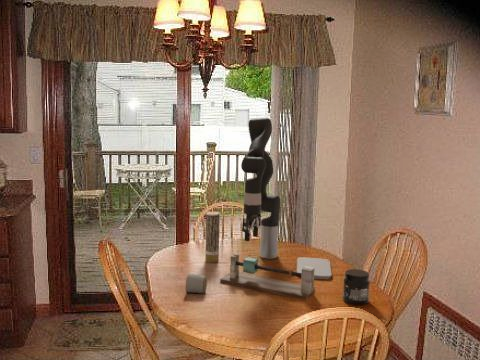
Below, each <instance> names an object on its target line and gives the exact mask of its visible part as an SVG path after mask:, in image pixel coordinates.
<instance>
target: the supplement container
mask: <svg viewBox="0 0 480 360" xmlns="http://www.w3.org/2000/svg"><path fill="white" fill-rule="evenodd" d="M344 276H345V277H344V278H343V279H342V280H343V284H342V285H343V286H342V288H343V289H342V300H343V301H344V302H345V303H347V304H350V305H354V306H363V305H366V304H368V303H369V301H370V297H369V296H370V285H371V282H370V280H369V279H370V273H369V272H368V271H366V270H364V269H358V268H351V269H350V268H349V269H346V270H345V271H344Z"/></svg>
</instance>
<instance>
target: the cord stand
mask: <svg viewBox="0 0 480 360" xmlns="http://www.w3.org/2000/svg"><path fill="white" fill-rule="evenodd" d="M240 267H243V262H242V261H240V254H238V253H234V254H233V255H230V265H229V273H228V274H226V275H224V276H223V277H221V278H220V279H219V282H220V283H223V284H226V285H231V286H237V287H240V288H245V289H251V290H254V291H255V290H256V291H259V292H264V293H269V294H274V295H279V296H282V297H283V296H284V297H288V298H293V299H298V300H303V301H307V300H308V298H310V296H311V295H312V294H313V293H314V292H315V291H316V287H314V285H315V279H314V270H315V268H314V267H309V266H305V267H304V268H303V269H302V273H297V271H294V269H289V270H287V269H280V268H274V267H269V266H265V265H263V266H262V265H259V264H258V265H255V269H258V270H261V271H266V272H271V273H277V274H283V275H287V276H288V277H289V278H292V277H293V276H294V277H299V278H300V284H299V283H294V282H289V281H285V280H284V281H283V280H281V279H280V280H279V279H274V278H270V277H265V276H260V275H259V276H258V275H254V274H251V273H245V272H240Z"/></svg>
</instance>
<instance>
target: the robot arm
mask: <svg viewBox="0 0 480 360" xmlns="http://www.w3.org/2000/svg"><path fill="white" fill-rule="evenodd" d="M272 131H273V124H272V120H271V119H270V118H269V117H256V118H250V119H249V120H248V132H249V138H250V145H249V148H248V152H247V153H246V154H245V156H244V157H242V161H241V170H242V172H244V173H246V174H255V177H251V178H247V179H245V181H244V182H245V183H244V196H243V213H244V214H245V215H246V217H243V218H242V226H241V227H242V228H241V232H243V233H244V241H245V242H250V240H251V230H252V237H253V238H258V236H259V228H260V238H259V239H260V240H259V241H260V242H259V243H260V246H259V257H260V258H261V259H262V258H263V259H269V260H270V259H272V260H273V259H276V258H277V257H278V248H279V246H278V242H279V221H280V216H281V215H280V212H281V198H280V196H279V195H276V194H267V193H268V192H267V187H268V184H269V182H270V181H271V179H272V177H273V175H274V164H273V160H272V159H273V158H272V157H271V156H270V154H269V153H268V152H267V151H266V147H267V144H268V143H269V140H270V138H271V136H272ZM262 212H264V213H270V216H268V217H263V218H262V214H261V213H262Z"/></svg>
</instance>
